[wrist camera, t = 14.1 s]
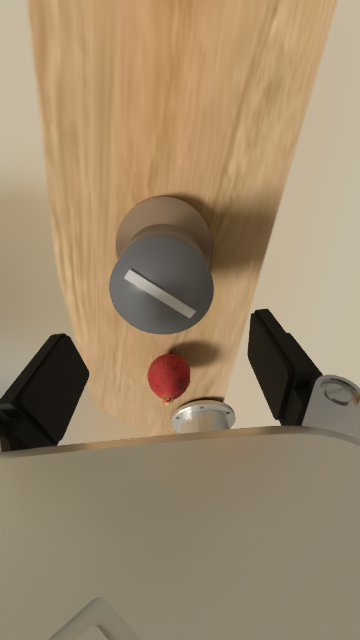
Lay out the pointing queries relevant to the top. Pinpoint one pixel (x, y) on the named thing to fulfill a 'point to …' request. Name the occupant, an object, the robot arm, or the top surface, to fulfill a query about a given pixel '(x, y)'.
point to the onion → (169, 377)
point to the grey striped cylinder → (161, 281)
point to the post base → (165, 222)
